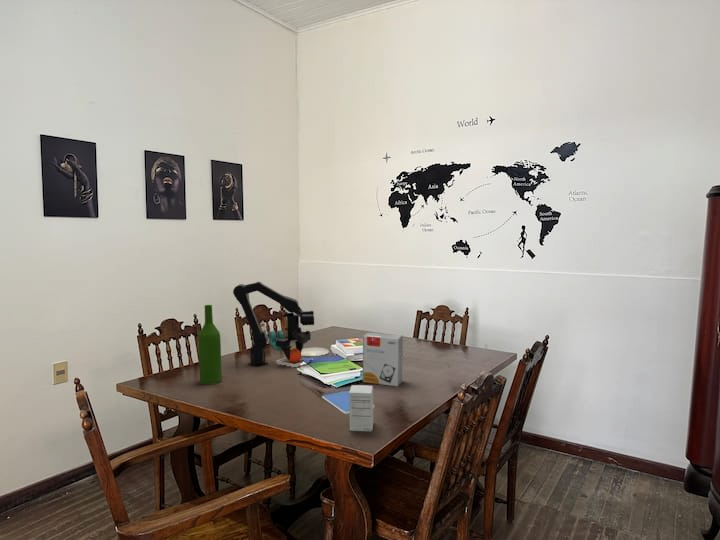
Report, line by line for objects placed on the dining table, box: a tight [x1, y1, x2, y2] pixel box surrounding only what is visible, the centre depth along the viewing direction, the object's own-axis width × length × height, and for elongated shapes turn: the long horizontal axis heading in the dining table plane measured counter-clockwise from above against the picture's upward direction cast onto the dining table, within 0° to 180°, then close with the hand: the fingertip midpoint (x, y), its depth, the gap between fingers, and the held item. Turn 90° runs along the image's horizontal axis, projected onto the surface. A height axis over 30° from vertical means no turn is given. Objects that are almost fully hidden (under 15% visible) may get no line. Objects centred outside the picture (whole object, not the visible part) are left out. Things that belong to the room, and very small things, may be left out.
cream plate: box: [301, 347, 330, 357], centre depth 247 cm, size 16×16×1 cm
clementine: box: [288, 348, 302, 364], centre depth 229 cm, size 8×7×7 cm
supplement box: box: [348, 384, 374, 432], centre depth 154 cm, size 7×7×13 cm
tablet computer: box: [321, 390, 375, 415], centre depth 177 cm, size 19×13×1 cm, turn 30°
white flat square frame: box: [275, 356, 303, 368], centre depth 229 cm, size 11×12×2 cm
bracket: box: [268, 330, 285, 351], centre depth 261 cm, size 18×7×8 cm, turn 24°
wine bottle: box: [197, 304, 223, 385], centre depth 201 cm, size 9×9×32 cm
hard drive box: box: [362, 332, 404, 387], centre depth 199 cm, size 16×8×20 cm, turn 70°
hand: (293, 357), depth 229 cm, fingers closed on clementine, 7 cm apart
